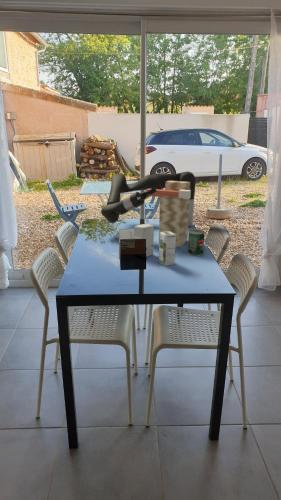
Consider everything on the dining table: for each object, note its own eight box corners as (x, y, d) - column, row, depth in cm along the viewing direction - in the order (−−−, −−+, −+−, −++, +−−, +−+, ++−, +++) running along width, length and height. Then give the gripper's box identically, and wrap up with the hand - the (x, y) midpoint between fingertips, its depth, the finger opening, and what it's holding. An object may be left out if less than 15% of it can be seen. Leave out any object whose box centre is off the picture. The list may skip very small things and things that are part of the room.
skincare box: (142, 258, 178) (142, 228, 173) (133, 255, 182) (133, 225, 177) (153, 254, 184) (154, 224, 179) (144, 251, 188) (145, 222, 183)
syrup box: (158, 262, 173) (158, 231, 169) (169, 260, 175) (170, 230, 171) (163, 266, 168) (164, 235, 164) (175, 264, 170) (176, 233, 166)
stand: (158, 244, 199) (160, 183, 189) (166, 237, 210) (168, 180, 200) (180, 247, 195) (183, 185, 184) (187, 240, 206) (190, 182, 196)
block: (145, 195, 196) (145, 188, 194) (148, 194, 199) (148, 187, 198) (188, 199, 187) (188, 191, 186) (190, 197, 191) (190, 190, 190)
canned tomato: (204, 255, 182) (205, 234, 179) (187, 255, 183) (189, 233, 179) (202, 250, 190) (204, 229, 186) (187, 250, 190) (188, 229, 187)
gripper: (141, 205, 208) (166, 192, 200) (131, 210, 196) (156, 197, 188) (135, 193, 207) (159, 179, 200) (124, 197, 195) (150, 183, 187)
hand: (158, 188), depth 194 cm, fingers open, 8 cm apart
